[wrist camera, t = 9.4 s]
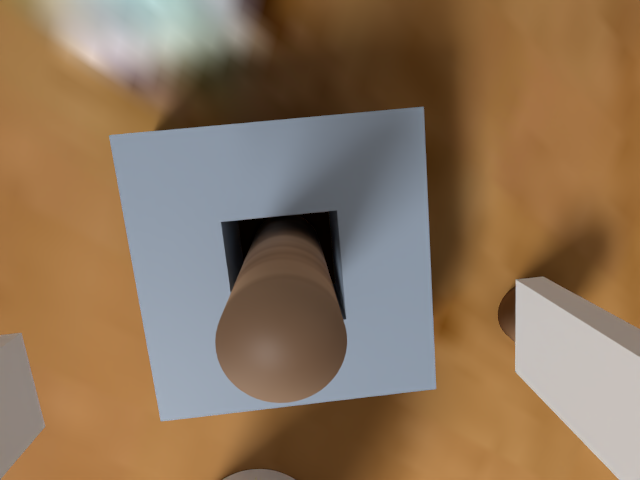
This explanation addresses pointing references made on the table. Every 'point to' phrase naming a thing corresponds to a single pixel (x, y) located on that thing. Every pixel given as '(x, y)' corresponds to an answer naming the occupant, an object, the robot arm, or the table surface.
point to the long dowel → (282, 316)
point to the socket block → (270, 201)
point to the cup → (259, 475)
